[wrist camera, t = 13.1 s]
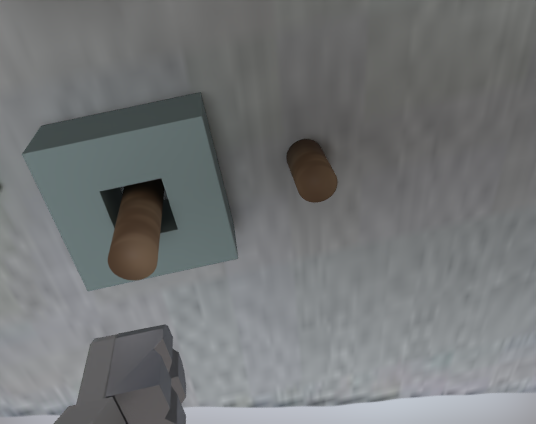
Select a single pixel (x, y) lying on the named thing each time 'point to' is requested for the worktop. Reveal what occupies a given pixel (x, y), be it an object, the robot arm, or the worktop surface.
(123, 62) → the worktop surface
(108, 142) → the hole block
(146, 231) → the long peg
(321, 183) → the short peg
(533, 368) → the worktop surface
